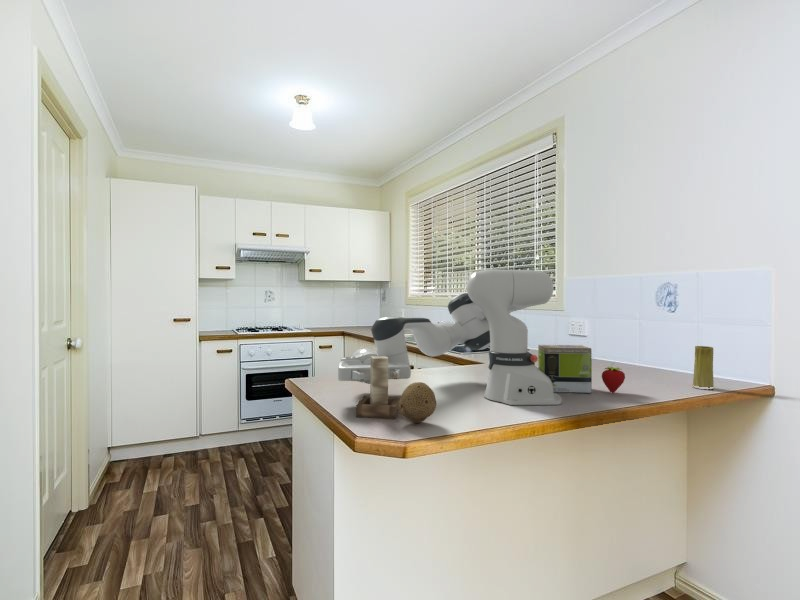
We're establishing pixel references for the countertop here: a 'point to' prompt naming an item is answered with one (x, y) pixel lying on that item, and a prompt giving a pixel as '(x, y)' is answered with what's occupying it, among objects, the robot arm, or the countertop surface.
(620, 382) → the strawberry
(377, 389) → the beige tall block
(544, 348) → the tea box
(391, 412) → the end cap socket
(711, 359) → the vase
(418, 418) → the natural sponge
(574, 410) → the countertop surface
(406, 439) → the countertop surface
